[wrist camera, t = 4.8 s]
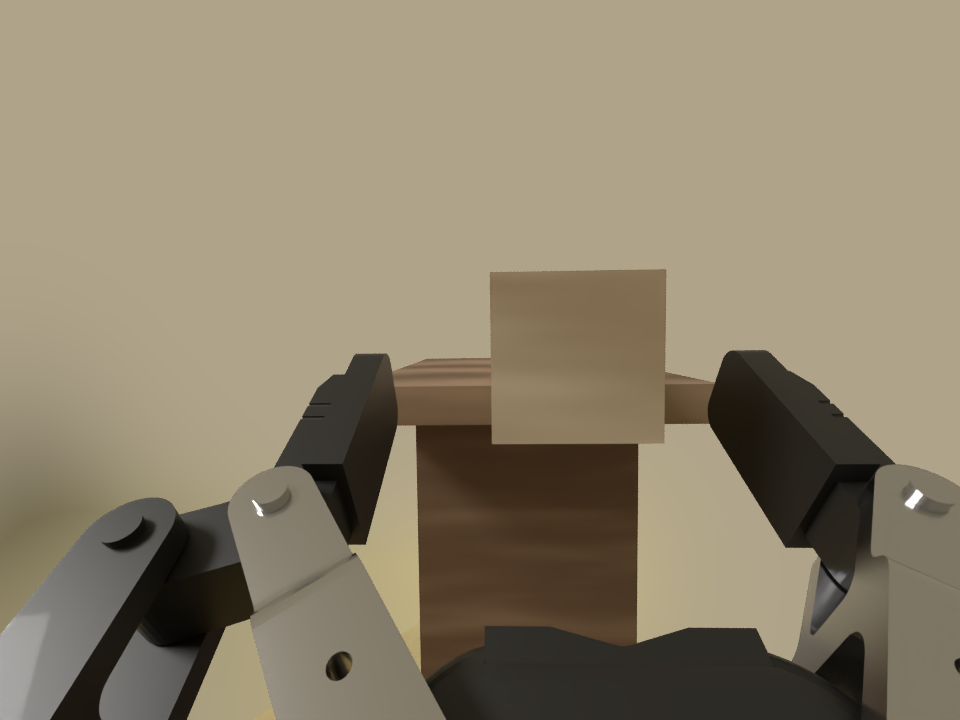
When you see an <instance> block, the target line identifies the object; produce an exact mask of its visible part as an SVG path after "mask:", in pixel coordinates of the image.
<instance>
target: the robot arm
mask: <svg viewBox="0 0 960 720" xmlns="http://www.w3.org/2000/svg"><path fill="white" fill-rule="evenodd" d="M309 404H310V406H308V407H307V409H306V411H305V412H304V414H303V416H302V417H303V418H302V419H301V420H300V421H299V423H298V425H297V427H296V429H295V430H294V432H293V434H292V436H291V438H290V439H289V442H288V443H287V445H286V447H285V449H284V450H283V452H282V454H281V456H280V458H279V460H278V461H277V463H276V465H275V467H274V468H272V469H269V470H266V471H263V472H261V473H259V474H257V475H255V476H254V477H252V478H250V479H249V480H248V481H246V482H245V483H244V484H243V485H242V486H241V487H240V488H239V489H238V490H237V491H236V492H235V494H234V495H233V497H232V499H231V500H230V501H229V502H226V503H223V504H219V505H215V506H212V507H207V508H203V509H200V510H195V511H192V512H188V513H184V514H180V515H179V514H178V512H177V511H176V509H175V507H174V506H173V505H172V503H170V502H169V501H167V500H165V499H162V498H144V499H139V500H135V501H132V502H129V503H126V504H124V505H122V506H120V507H118V508H116V509H114V510H112V511H110V512H109V513H107V514H105V515H104V516H102V517H101V518H100V519H98V520H97V521H96V522H94V523H93V524H92V525H91V526H90V527H89V528H88V529H87V530H86V531H85V532H84V533H83V534H82V535H81V537H80V538H79V539H78V540H77V541H76V543H75V544H74V545H73V546H72V548H71V549H70V550H69V551H68V552H67V554H66V555H65V556H64V557H63V559H62V560H61V561H60V562H59V563H58V565H57V566H56V567H55V568H54V569H53V571H52V572H51V573H50V574H49V576H48V577H47V578H46V579H45V581H44V582H43V583H42V584H41V585H40V587H39V588H38V589H37V590H36V591H35V593H34V594H33V595H32V596H31V598H30V599H29V600H28V601H27V602H26V604H25V605H24V606H23V607H22V609H21V610H20V611H19V612H18V614H17V615H16V616H15V617H14V618H13V620H12V621H11V622H10V623H9V625H8V626H7V627H6V628H5V629H4V631H3V632H2V633H1V634H0V720H187V717H188V715H189V713H190V711H191V708H192V706H193V703H194V701H195V699H196V696H197V694H198V692H199V689H200V687H201V684H202V682H203V679H204V677H205V675H206V673H207V670H208V668H209V665H210V663H211V660H212V658H213V656H214V654H215V651H216V649H217V646H218V644H219V642H220V639H221V637H222V635H223V632H224V630H225V627H226V626H229V625H232V624H235V623H239V622H242V621H245V620H248V619H250V621H251V627H252V632H253V635H254V640H255V643H256V647H257V651H258V654H259V658H260V662H261V666H262V669H263V673H264V677H265V681H266V684H267V688H268V692H269V696H270V699H271V703H272V707H273V711H274V714H275V718H276V720H960V487H959V486H958V485H956V484H954V483H953V482H951V481H949V480H947V479H946V478H944V477H941V476H939V475H937V474H935V473H932V472H929V471H927V470H923V469H920V468H917V467H913V466H908V465H897V464H895V463H894V462H893V461H892V460H891V459H890V458H889V457H888V456H886V454H885V453H884V452H883V451H882V450H881V449H880V448H879V447H877V446H876V445H875V444H874V443H873V442H872V441H871V440H870V439H869V438H868V437H867V436H866V435H865V434H864V433H863V432H862V431H861V430H860V429H859V428H858V427H857V426H856V425H855V424H854V423H853V422H852V421H851V420H850V419H849V418H847V417H844V416H843V413H842V412H841V411H840V410H839V409H838V408H837V407H836V406H835V405H834V404H830V400H829V399H828V398H827V397H826V396H825V395H824V394H823V393H822V392H821V391H820V390H819V389H817V388H816V387H815V386H814V385H813V384H811V383H810V382H808V381H806V380H804V379H803V378H801V377H799V376H798V375H795V374H794V373H792V372H791V371H788V370H786V368H785V367H784V366H783V365H782V364H781V363H780V362H779V361H777V359H776V358H775V357H773V355H772V354H771V353H769V352H768V351H765V350H749V351H748V350H746V351H729V352H728V353H727V354H726V355H725V356H724V358H723V361H722V364H721V367H720V370H719V373H718V375H717V378H716V382H715V384H714V387H713V390H712V393H711V396H710V399H709V402H708V420H709V423H710V426H711V428H712V430H713V431H714V433H715V435H716V436H717V438H718V439H719V441H720V443H721V444H722V446H723V448H724V449H725V451H726V452H727V454H728V456H729V457H730V459H731V460H732V462H733V464H734V465H735V467H736V468H737V470H738V472H739V473H740V475H741V477H742V478H743V480H744V481H745V483H746V485H747V486H748V488H749V489H750V491H751V493H752V494H753V496H754V497H755V499H756V501H757V502H758V504H759V506H760V507H761V509H762V510H763V512H764V514H765V515H766V517H767V518H768V520H769V522H770V523H771V525H772V526H773V528H774V530H775V531H776V533H777V534H778V536H779V538H780V539H781V541H782V543H783V544H784V546H785V547H786V548H813V549H814V550H815V551H816V553H817V554H818V557H817V559H816V560H815V562H814V563H813V565H812V568H811V574H810V580H809V586H808V592H807V597H806V603H805V609H804V615H803V621H802V627H801V633H800V639H799V643H798V647H797V650H796V653H795V655H794V658H793V660H792V662H791V661H789V660H786V659H784V658H781V657H779V656H776V655H773V654H770V653H767V650H766V648H765V646H764V644H763V642H762V640H761V638H760V636H759V633H758V631H757V630H756V628H686V629H683V630H679V631H676V632H673V633H670V634H666V635H663V636H660V637H657V638H653V639H650V640H646V641H643V642H640V643H636V644H633V645H629V646H618V645H614V644H610V643H607V642H603V641H600V640H596V639H593V638H589V637H585V636H582V635H578V634H575V633H571V632H568V631H564V630H561V629H557V628H554V627H549V626H485V639H484V646H482V647H479V648H476V649H472V650H470V651H468V652H465V653H463V654H461V655H459V656H457V657H455V658H453V659H452V660H450V661H448V662H447V663H445V664H444V665H442V666H441V667H439V668H438V669H437V670H436V671H435V672H433V673H432V674H431V675H430V676H429V677H427V678H426V679H424V677H423V675H422V674H421V672H420V670H419V668H418V666H417V664H416V662H415V660H414V659H413V657H412V655H411V653H410V651H409V649H408V647H407V646H406V644H405V642H404V640H403V638H402V636H401V634H400V633H399V631H398V629H397V627H396V625H395V623H394V621H393V619H392V618H391V616H390V614H389V612H388V610H387V608H386V607H385V605H384V603H383V601H382V599H381V597H380V595H379V593H378V591H377V590H376V588H375V586H374V584H373V582H372V580H371V578H370V576H369V575H368V573H367V571H366V569H365V567H364V565H363V564H362V562H361V560H360V559H359V557H358V556H357V554H356V553H354V554H352V552H351V550H350V549H349V547H348V545H349V544H350V545H352V544H353V545H354V544H357V545H361V544H362V545H363V544H364V545H365V544H366V541H367V537H368V534H369V530H370V526H371V523H372V519H373V515H374V511H375V508H376V504H377V500H378V496H379V492H380V489H381V485H382V481H383V477H384V474H385V470H386V466H387V462H388V459H389V455H390V451H391V447H392V444H393V440H394V436H395V432H396V428H397V422H398V405H397V399H396V393H395V387H394V381H393V375H392V369H391V363H390V359H389V356H388V355H387V354H356V355H354V357H353V359H352V361H351V363H350V366H349V367H348V369H347V371H346V373H345V375H333V376H331V377H330V378H329V379H328V380H327V381H326V382H324V383H323V384H322V385H321V386H320V387H318V389H317V390H316V392H315V394H314V396H313V398H312V400H311V401H310V403H309Z"/></svg>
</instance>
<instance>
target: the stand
mask: <svg viewBox="0 0 960 720" xmlns="http://www.w3.org/2000/svg"><path fill="white" fill-rule="evenodd" d="M392 375H393V381H394V387H395V393H396V399H397V405H398V422H397V425H416V449H417V493H418V494H417V496H418V543H419V593H420V641H421V674H422V675H423V677H424V679H426V678H427V677H429V676H430V675H431V674H432V673H433V672H435V671H436V670H437V669H438V668H439V667H441V666H442V665H444V664H445V663H447V662H448V661H450V660H452V659H453V658H455V657H457V656H459V655H461V654H463V653H465V652H468V651H470V650H472V649H476V648H479V647H482V646H484V639H485V626H549V627H554V628H557V629H561V630H564V631H568V632H571V633H575V634H578V635H582V636H585V637H589V638H593V639H596V640H600V641H603V642H607V643H610V644H614V645H618V646H629V645H633V644H636V643H637V537H638V536H637V535H638V534H637V533H638V532H637V529H638V444H492V411H491V358H468V359H467V358H461V359H426V360H423V361H420V362H417V363H415V364H412V365H409V366H407V367H404V368H401V369H398V370H395V371H393V372H392ZM714 384H715V383H714V382H709V381H704V380H700V379H695V378H690V377H686V376H681V375H676V374H671V373H667V372H665V417H664V424H703V423H704V424H710V423H709V420H708V402H709V399H710V396H711V393H712V390H713V387H714Z"/></svg>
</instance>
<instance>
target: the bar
mask: <svg viewBox="0 0 960 720" xmlns="http://www.w3.org/2000/svg"><path fill="white" fill-rule="evenodd" d="M490 319H491V411H492V444H640V443H641V444H643V443H644V444H645V443H664V417H665V331H666V330H665V329H666V327H665V326H666V324H665V323H666V270H664V269H663V270H662V269H661V270H606V271H605V270H604V271H602V270H601V271H542V272H490Z"/></svg>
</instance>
